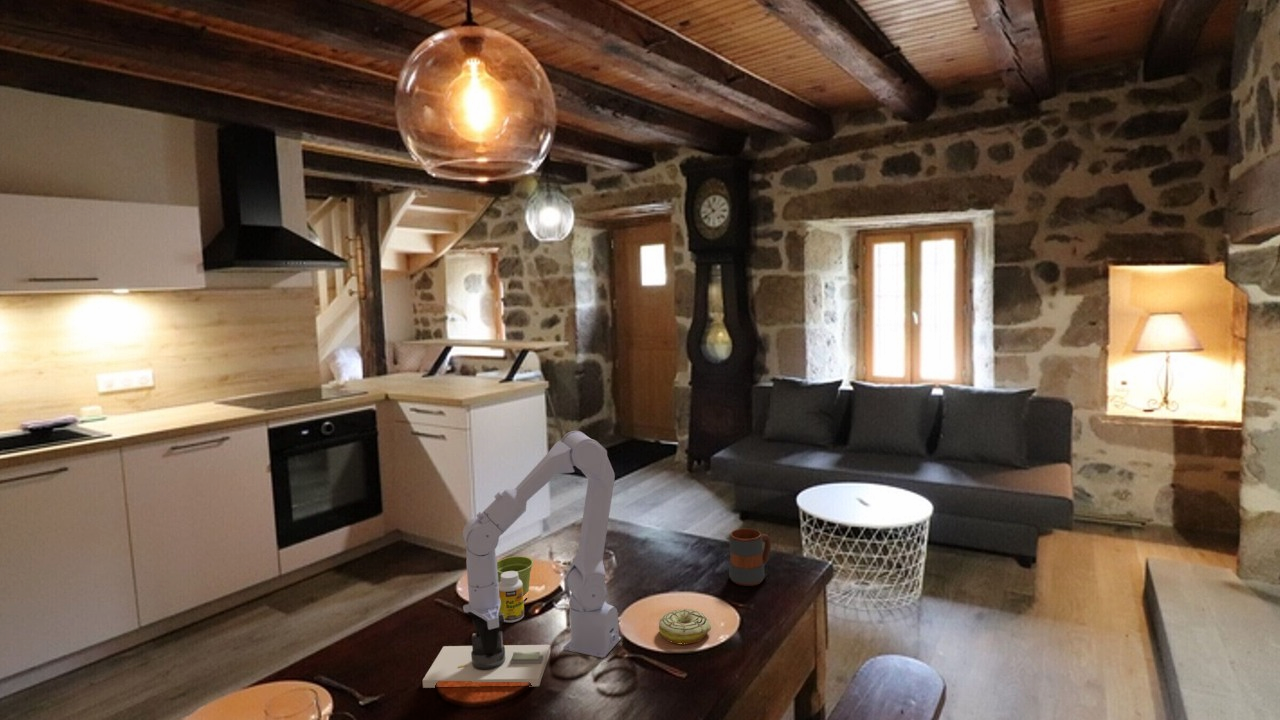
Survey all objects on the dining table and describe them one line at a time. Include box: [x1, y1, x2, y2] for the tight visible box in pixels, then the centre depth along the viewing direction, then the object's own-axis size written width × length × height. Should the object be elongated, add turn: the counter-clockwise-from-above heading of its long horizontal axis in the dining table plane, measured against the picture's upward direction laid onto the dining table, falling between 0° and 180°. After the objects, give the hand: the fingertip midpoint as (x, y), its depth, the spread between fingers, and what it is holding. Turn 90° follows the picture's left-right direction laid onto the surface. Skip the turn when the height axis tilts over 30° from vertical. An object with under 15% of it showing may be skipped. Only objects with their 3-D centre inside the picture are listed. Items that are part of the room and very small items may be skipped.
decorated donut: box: [658, 608, 712, 645], centre depth 144 cm, size 10×11×4 cm
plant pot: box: [497, 555, 534, 596], centre depth 163 cm, size 9×9×9 cm
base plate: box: [422, 644, 551, 689], centre depth 134 cm, size 22×12×4 cm, turn 87°
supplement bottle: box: [498, 571, 525, 623], centre depth 154 cm, size 6×6×10 cm
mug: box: [728, 528, 772, 587], centre depth 169 cm, size 9×12×12 cm
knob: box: [471, 630, 505, 670], centre depth 134 cm, size 6×6×6 cm
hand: (487, 647), depth 134 cm, fingers closed on knob, 3 cm apart
